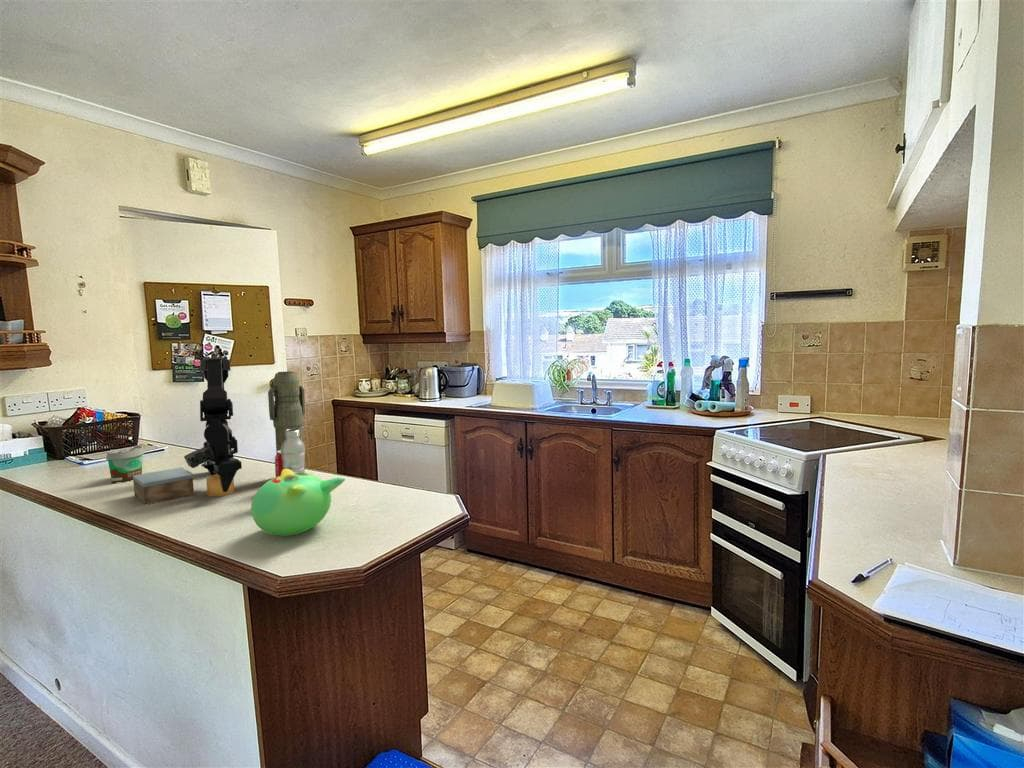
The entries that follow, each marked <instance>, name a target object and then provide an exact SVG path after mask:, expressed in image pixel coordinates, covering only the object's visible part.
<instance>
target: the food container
mask: <svg viewBox="0 0 1024 768" xmlns="http://www.w3.org/2000/svg"><path fill="white" fill-rule="evenodd" d="M144 454H145V449H144V448H143V446H141V445H134V446H133V448H131V449H126V450H124V449H123V450H120V451H118V452H109V453H108V452H107V453H106V458H105V460H106V461H108V468H109V473H110V478H111V484H117V483H116V482H122V483H127V482H126V481H129V482H132V481H131V480H133V476H134V475H140V474H143V455H144Z"/></svg>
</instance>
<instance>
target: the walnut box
mask: <svg viewBox="0 0 1024 768" xmlns="http://www.w3.org/2000/svg"><path fill="white" fill-rule="evenodd" d="M132 482H133V495H134V498H136V499H137V498H138V499H139V500H138V499H137V500H138V501H140V503H142V504H143V505H144V506H147V505H146V504H148V505H151V503H152V504H155V502H157V503H160V502H161V501H162V502H166V500H167V501H171V499H172V500H175V499H180V498H185V497H190V495H191V496H195V489H194V478H190V479H184V480H179V481H174V482H169V483H163V484H158V485H153V486H148V487H143V486H141V485H140V484H139V483H137V482H136V481H135V480H134V479H133V481H132Z"/></svg>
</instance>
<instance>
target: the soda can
mask: <svg viewBox="0 0 1024 768" xmlns="http://www.w3.org/2000/svg"><path fill="white" fill-rule="evenodd" d="M283 469H284V467H283V460H282V456H281V450H278V451H277V454H276V455H275V457H274V470H275V473H274V474H275V477H277V476H280V475H281V472H282V470H283Z"/></svg>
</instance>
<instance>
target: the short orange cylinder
mask: <svg viewBox="0 0 1024 768" xmlns="http://www.w3.org/2000/svg"><path fill="white" fill-rule="evenodd" d="M234 478H235V477H234ZM234 478H233V480H232V482H231V485H230V487H229V489H228V491H227V492H223V490H222V486H221V482H220V477H219V475H218V474H216V475H211V476H210V475H209V476H207V477H206V480H205V481H206V489H207V490H206V491H207V492H206V494H207V496H208V497H211V496H212V497H213V498H214V497H223V496H228V495H231V494H233V493H235V481H234V480H235V479H234Z"/></svg>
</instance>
